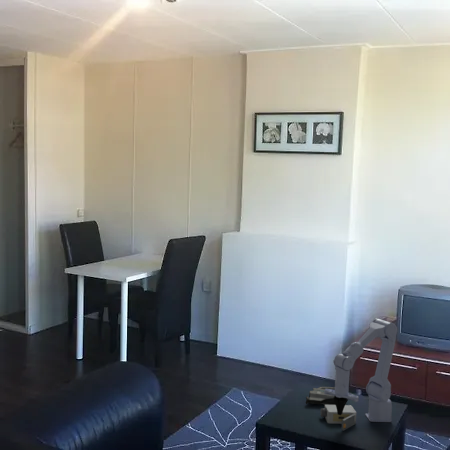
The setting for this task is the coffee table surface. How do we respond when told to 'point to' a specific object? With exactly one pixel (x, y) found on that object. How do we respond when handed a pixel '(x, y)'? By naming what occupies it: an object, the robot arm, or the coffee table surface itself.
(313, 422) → the coffee table surface
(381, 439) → the coffee table surface
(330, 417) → the camera case
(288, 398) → the coffee table surface
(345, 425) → the side door
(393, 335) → the robot arm
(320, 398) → the camcorder
